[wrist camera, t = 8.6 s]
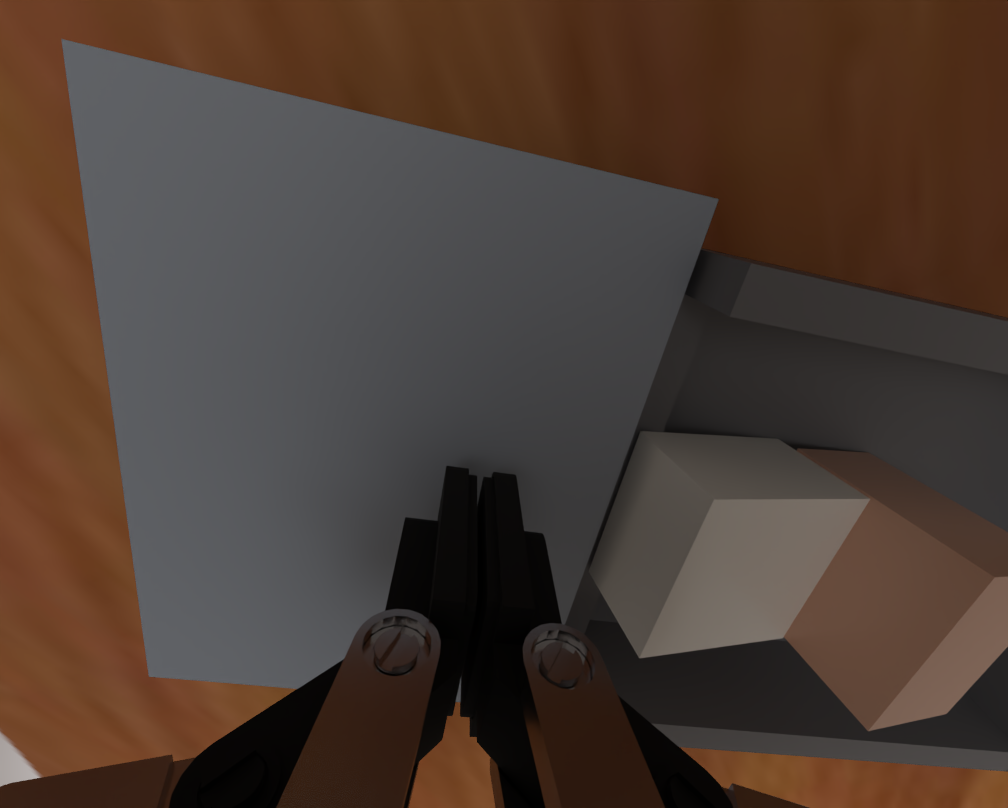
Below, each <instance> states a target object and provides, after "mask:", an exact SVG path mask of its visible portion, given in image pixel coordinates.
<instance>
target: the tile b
mask: <svg viewBox="0 0 1008 808" xmlns="http://www.w3.org/2000/svg"><path fill="white" fill-rule="evenodd" d="M797 451H798V452H799V453H801V454H802V455H804V456H805V457H807V458H808V459H810V460H811V461H813V462H815V463H816V464H818V465H819V466H821V467H822V468H824V469H825V470H827V471H828V472H830V473H831V474H833V475H835V476H836V477H838V478H839V479H841V480H842V481H844V482H845V483H847V484H848V485H850V486H851V487H853V488H854V489H856V490H858V491H859V492H861V493H862V494H864V495H865V496H867V497H868V498H870V501H869V502H868V504H867V505H866V507H865V508H864V510H863V512H862V513H861V515H860V516H859V518H858V520H857V521H856V523H855V524H854V526H853V527H852V529H851V531H850V532H849V534H848V535H847V537H846V539H845V540H844V542H843V543H842V545H841V547H840V548H839V550H838V551H837V553H836V554H835V556H834V558H833V559H832V561H831V562H830V564H829V566H828V567H827V569H826V570H825V572H824V573H823V575H822V577H821V578H820V580H819V581H818V583H817V585H816V586H815V588H814V589H813V591H812V593H811V594H810V596H809V597H808V599H807V600H806V602H805V604H804V605H803V607H802V608H801V610H800V612H799V613H798V615H797V616H796V618H795V619H794V621H793V623H792V624H791V626H790V627H789V629H788V631H787V632H786V634H785V635H784V638H785V639H786V640H787V641H788V642H789V643H790V644H791V646H792V647H793V648H794V649H795V650H796V651H797V652H798V653H799V655H800V656H801V657H802V658H803V659H804V660H805V661H806V662H807V664H808V665H809V666H810V667H811V668H812V669H813V670H814V671H815V672H816V674H817V675H818V676H819V677H820V678H821V679H822V680H823V681H824V683H825V684H826V685H827V686H828V687H829V688H830V689H831V690H832V692H833V693H834V694H835V695H836V696H837V697H838V698H839V699H840V700H841V702H842V703H843V704H844V705H845V706H846V707H847V708H848V709H849V711H850V712H851V713H852V714H853V715H854V716H855V717H856V718H857V720H858V721H859V722H860V723H861V724H862V725H863V726H864V727H865V729H866V730H867V731H871V730H876V729H880V728H885V727H890V726H894V725H899V724H903V723H908V722H912V721H917V720H921V719H926V718H931V717H935V716H940V715H944V714H947V713H948V712H949V711H950V709H951V708H952V707H953V706H954V705H955V704H956V703H957V702H958V701H959V700H960V698H961V697H962V696H963V695H964V694H965V693H966V692H967V691H968V690H969V689H970V687H971V686H972V685H973V684H974V683H975V682H976V681H977V680H978V679H979V678H980V676H981V675H982V674H983V673H984V672H985V671H986V670H987V669H988V668H989V667H990V665H991V664H992V663H993V662H994V661H995V660H996V659H997V658H998V657H999V656H1000V655H1001V653H1002V652H1003V651H1004V650H1005V649H1006V648H1007V647H1008V532H1007V531H1005V530H1003V529H1001V528H1000V527H998V526H996V525H994V524H993V523H991V522H989V521H987V520H986V519H984V518H982V517H980V516H979V515H977V514H975V513H973V512H972V511H970V510H968V509H966V508H965V507H963V506H961V505H959V504H958V503H956V502H954V501H952V500H951V499H949V498H947V497H945V496H944V495H942V494H940V493H938V492H937V491H935V490H933V489H931V488H930V487H928V486H926V485H924V484H923V483H921V482H919V481H917V480H916V479H914V478H912V477H910V476H909V475H907V474H905V473H903V472H902V471H900V470H898V469H896V468H895V467H893V466H891V465H890V464H888V463H886V462H884V461H883V460H881V459H879V458H877V457H876V456H874V455H872V454H870V453H868V452H851V451H834V450H817V449H800V448H798V449H797Z"/></svg>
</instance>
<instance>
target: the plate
mask: <svg viewBox="0 0 1008 808" xmlns="http://www.w3.org/2000/svg"><path fill="white" fill-rule="evenodd" d="M62 46H63V54H64V61H65V68H66V75H67V83H68V90H69V97H70V105H71V112H72V119H73V126H74V134H75V141H76V148H77V156H78V163H79V170H80V177H81V185H82V192H83V199H84V207H85V214H86V221H87V229H88V236H89V243H90V250H91V258H92V265H93V272H94V280H95V287H96V294H97V301H98V309H99V316H100V323H101V331H102V338H103V345H104V353H105V360H106V367H107V374H108V382H109V389H110V396H111V404H112V411H113V418H114V425H115V433H116V440H117V447H118V455H119V462H120V469H121V477H122V484H123V491H124V498H125V506H126V513H127V520H128V528H129V535H130V542H131V549H132V557H133V564H134V571H135V579H136V586H137V593H138V601H139V608H140V615H141V622H142V630H143V637H144V644H145V652H146V659H147V666H148V673H149V677H161V678H174V679H186V680H198V681H210V682H222V683H234V684H246V685H258V686H270V687H283V688H295V689H298V688H300V687H301V686H303V685H304V684H306V683H308V682H309V681H311V680H312V679H314V678H315V677H317V676H318V675H320V674H321V673H323V672H325V671H326V670H328V669H329V668H331V667H332V666H334V665H335V664H337V663H338V662H340V661H342V660H343V659H344V658H345V656H346V654H347V651H348V649H349V647H350V645H351V643H352V640H353V638H354V636H355V634H356V633H357V631H358V630H359V628H360V627H361V625H362V624H363V623H364V622H366V621H367V620H368V619H369V618H370V617H372V616H374V615H376V614H378V613H380V612H383V611H385V609H386V604H387V599H388V595H389V590H390V585H391V581H392V576H393V571H394V567H395V562H396V557H397V553H398V548H399V543H400V539H401V534H402V530H403V525H404V521H405V517H409V518H417V519H426V520H434V521H437V519H438V513H439V507H440V501H441V495H442V489H443V483H444V476H445V470H446V466H454V467H461V468H469V475H476V476H477V506H478V501H479V496H480V491H481V486H482V481H483V477H492V474H493V472H499V473H507V474H514V475H516V477H517V483H518V490H519V497H520V505H521V512H522V519H523V526H524V531H528V532H537V533H542V534H543V535H544V537H545V540H546V546H547V551H548V556H549V561H550V566H551V571H552V576H553V581H554V586H555V591H556V596H557V601H558V607H559V612H560V617H561V622H562V624H564V625H565V623H566V620H567V618H568V615H569V612H570V609H571V607H572V604H573V601H574V598H575V595H576V593H577V590H578V587H579V584H580V582H581V579H582V576H583V573H584V571H585V568H586V565H587V562H588V559H589V557H590V554H591V551H592V548H593V546H594V543H595V540H596V537H597V535H598V532H599V529H600V526H601V524H602V521H603V518H604V515H605V512H606V510H607V507H608V504H609V501H610V499H611V496H612V493H613V490H614V488H615V485H616V482H617V479H618V477H619V474H620V471H621V468H622V465H623V463H624V460H625V457H626V454H627V452H628V449H629V446H630V443H631V441H632V438H633V435H634V432H635V430H636V427H637V424H638V421H639V418H640V416H641V413H642V410H643V407H644V405H645V402H646V399H647V396H648V394H649V391H650V388H651V385H652V383H653V380H654V377H655V374H656V371H657V369H658V366H659V363H660V360H661V358H662V355H663V352H664V349H665V347H666V344H667V341H668V338H669V335H670V333H671V330H672V327H673V324H674V322H675V319H676V316H677V313H678V311H679V308H680V305H681V302H682V300H683V297H684V294H685V291H686V288H687V286H688V283H689V280H690V277H691V275H692V272H693V269H694V266H695V264H696V261H697V258H698V255H699V253H700V250H701V247H702V244H703V241H704V239H705V236H706V233H707V230H708V228H709V225H710V222H711V219H712V217H713V214H714V211H715V208H716V206H717V203H718V200H719V199H716V198H712V197H708V196H704V195H700V194H696V193H691V192H687V191H683V190H679V189H675V188H671V187H667V186H663V185H659V184H654V183H650V182H646V181H642V180H638V179H634V178H630V177H626V176H622V175H618V174H613V173H609V172H605V171H601V170H597V169H593V168H589V167H585V166H581V165H577V164H572V163H568V162H564V161H560V160H556V159H552V158H548V157H544V156H540V155H535V154H531V153H527V152H523V151H519V150H515V149H511V148H507V147H503V146H499V145H494V144H490V143H486V142H482V141H478V140H474V139H470V138H466V137H462V136H457V135H453V134H449V133H445V132H441V131H437V130H433V129H429V128H425V127H421V126H416V125H412V124H408V123H404V122H400V121H396V120H392V119H388V118H384V117H379V116H375V115H371V114H367V113H363V112H359V111H355V110H351V109H347V108H343V107H338V106H334V105H330V104H326V103H322V102H318V101H314V100H310V99H306V98H302V97H297V96H293V95H289V94H285V93H281V92H277V91H273V90H269V89H265V88H260V87H256V86H252V85H248V84H244V83H240V82H236V81H232V80H228V79H224V78H219V77H215V76H211V75H207V74H203V73H199V72H195V71H191V70H187V69H182V68H178V67H174V66H170V65H166V64H162V63H158V62H154V61H150V60H146V59H141V58H137V57H133V56H129V55H125V54H121V53H117V52H113V51H109V50H105V49H100V48H96V47H92V46H88V45H84V44H80V43H76V42H72V41H68V40H63V39H62ZM460 700H461V680H460V684H459V689H458V693H457V698H456V702H460Z"/></svg>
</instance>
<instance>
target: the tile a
mask: <svg viewBox="0 0 1008 808" xmlns="http://www.w3.org/2000/svg"><path fill="white" fill-rule="evenodd" d="M869 501H870V498H868V497H867V496H865V495H864V494H862V493H861V492H859V491H858V490H856V489H854V488H853V487H851V486H850V485H848V484H847V483H845V482H844V481H842V480H841V479H839V478H838V477H836V476H835V475H833V474H831V473H830V472H828V471H827V470H825V469H824V468H822V467H821V466H819V465H818V464H816V463H815V462H813V461H811V460H810V459H808V458H807V457H805V456H804V455H802V454H801V453H799V452H798V451H796V450H795V449H793V448H792V447H790V446H788V445H787V444H785V443H784V442H782V441H781V440H779V439H775V438H757V437H739V436H721V435H703V434H685V433H668V432H650V431H640V434H639V436H638V439H637V442H636V444H635V447H634V450H633V453H632V455H631V458H630V461H629V463H628V466H627V469H626V472H625V474H624V477H623V480H622V482H621V485H620V488H619V490H618V493H617V496H616V499H615V501H614V504H613V507H612V509H611V512H610V515H609V518H608V520H607V523H606V526H605V528H604V531H603V534H602V537H601V539H600V542H599V545H598V547H597V550H596V553H595V556H594V558H593V561H592V564H591V566H590V569H589V573H590V575H591V576H592V578H593V580H594V582H595V583H596V585H597V587H598V588H599V590H600V592H601V594H602V595H603V597H604V599H605V600H606V602H607V604H608V606H609V607H610V609H611V611H612V612H613V614H614V616H615V618H616V619H617V621H618V623H619V625H620V626H621V628H622V630H623V631H624V633H625V635H626V637H627V638H628V640H629V642H630V643H631V645H632V647H633V649H634V650H635V652H636V654H637V655H638V657H639V658H646V657H653V656H660V655H667V654H674V653H681V652H689V651H696V650H703V649H710V648H717V647H724V646H731V645H738V644H745V643H753V642H760V641H767V640H774V639H781V638H783V637H784V635H785V634H786V632H787V631H788V629H789V627H790V626H791V624H792V623H793V621H794V619H795V618H796V616H797V615H798V613H799V612H800V610H801V608H802V607H803V605H804V604H805V602H806V600H807V599H808V597H809V596H810V594H811V593H812V591H813V589H814V588H815V586H816V585H817V583H818V581H819V580H820V578H821V577H822V575H823V573H824V572H825V570H826V569H827V567H828V566H829V564H830V562H831V561H832V559H833V558H834V556H835V554H836V553H837V551H838V550H839V548H840V547H841V545H842V543H843V542H844V540H845V539H846V537H847V535H848V534H849V532H850V531H851V529H852V527H853V526H854V524H855V523H856V521H857V520H858V518H859V516H860V515H861V513H862V512H863V510H864V508H865V507H866V505H867V504H868V502H869Z"/></svg>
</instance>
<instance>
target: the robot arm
mask: <svg viewBox="0 0 1008 808" xmlns="http://www.w3.org/2000/svg"><path fill="white" fill-rule="evenodd" d="M460 680H461V700H460V715H461V717H470V737H477V742H478V743H479V745H480V746H481V747H482V748H483V749H484V750H485V751H486V753H487V754H488V755H489V756H490V757H491V758H490V775H491V782H492V788H493V795H494V801H495V808H809V807H805V806H802V805H799V804H796V803H793V802H790V801H787V800H783V799H780V798H777V797H774V796H771V795H768V794H765V793H761V792H758V791H755V790H752V789H749V788H746V787H743V786H739V785H736V784H733V783H732V784H731V786H730V787H729V789H726V788H723V787H721V786H720V784H719V783H718V782H717V781H716V780H715V779H714V778H713V777H712V776H711V775H710V774H709V773H708V772H707V771H706V770H705V769H704V768H703V767H702V766H700V765H699V764H698V763H697V762H696V761H695V760H693V759H692V758H691V757H690V756H689V755H688V754H686V753H685V752H684V751H683V750H682V749H681V748H679V747H678V746H677V745H676V744H675V743H674V742H672V741H671V740H670V739H669V738H668V737H666V736H665V735H664V734H663V733H662V732H661V731H659V730H658V729H657V728H656V727H655V726H654V725H652V724H651V723H650V722H649V721H648V720H647V719H645V718H644V717H643V716H642V715H641V714H640V713H638V712H637V711H636V710H635V709H634V708H633V707H631V706H630V705H629V704H628V703H627V702H625V701H624V700H623V699H622V698H621V697H620V696H618V695H617V692H616V690H615V688H614V685H613V683H612V680H611V678H610V676H609V673H608V671H607V669H606V666H605V664H604V661H603V659H602V657H601V655H600V653H599V651H598V650H597V648H596V646H595V645H594V644H593V643H592V641H591V640H590V639H589V638H588V637H587V636H586V635H584V634H583V633H581V632H580V631H578V630H576V629H575V628H572V627H570V626H567V625H564V624H562V622H561V617H560V612H559V607H558V601H557V596H556V591H555V586H554V581H553V576H552V571H551V566H550V561H549V556H548V551H547V546H546V540H545V537H544V535H543V534H542V533H537V532H528V531H524V526H523V519H522V512H521V505H520V497H519V490H518V483H517V477H516V475H514V474H507V473H499V472H493V474H492V477H483V481H482V486H481V491H480V496H479V501H478V506H477V476H476V475H469V468H461V467H454V466H446V470H445V476H444V483H443V489H442V495H441V501H440V507H439V513H438V519H437V521H434V520H426V519H417V518H409V517H405V521H404V525H403V530H402V534H401V539H400V543H399V548H398V553H397V557H396V562H395V567H394V571H393V576H392V581H391V585H390V590H389V595H388V599H387V604H386V609H385V611H383V612H380V613H378V614H376V615H374V616H372V617H370V618H369V619H368V620H367V621H366V622H364V623H363V624H362V625H361V627H360V628H359V630H358V631H357V633H356V634H355V636H354V638H353V640H352V643H351V645H350V647H349V649H348V651H347V654H346V656H345V658H344V659H343V660H342V661H340V662H338V663H337V664H335V665H334V666H332V667H331V668H329V669H328V670H326V671H325V672H323V673H321V674H320V675H318V676H317V677H315V678H314V679H312V680H311V681H309V682H308V683H306V684H304V685H303V686H301V687H300V688H298V689H297V690H295V691H294V692H292V693H290V694H289V695H287V696H286V697H284V698H283V699H281V700H280V701H278V702H277V703H275V704H273V705H272V706H270V707H269V708H267V709H266V710H264V711H263V712H261V713H259V714H258V715H256V716H255V717H253V718H252V719H250V720H249V721H247V722H246V723H244V724H242V725H241V726H239V727H238V728H236V729H235V730H233V731H232V732H230V733H229V734H227V735H225V736H224V737H222V738H221V739H219V740H218V741H216V742H215V743H213V744H212V745H210V746H209V747H208V748H207V749H206V750H204V751H203V752H202V753H201V754H199V755H198V756H197V757H196V758H191V759H185V760H180V761H174V762H173V756H172V755H167V756H161V757H156V758H150V759H144V760H139V761H133V762H127V763H122V764H116V765H110V766H105V767H99V768H94V769H88V770H82V771H77V772H71V773H65V774H60V775H54V776H48V777H43V778H37V779H32V780H26V781H20V782H15V783H10V784H7V785H4V786H1V787H0V808H409V804H410V800H411V796H412V791H413V787H414V783H415V779H416V775H417V770H418V765H419V761H420V760H421V759H422V758H423V757H424V756H425V755H426V754H427V753H429V752H430V751H431V750H432V749H433V748H434V747H435V746H436V745H437V744H438V743H439V742H440V741H441V740H442V738H443V733H444V729H445V724H446V719H447V716H452V715H453V711H454V706H455V702H456V698H457V693H458V689H459V684H460Z"/></svg>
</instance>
